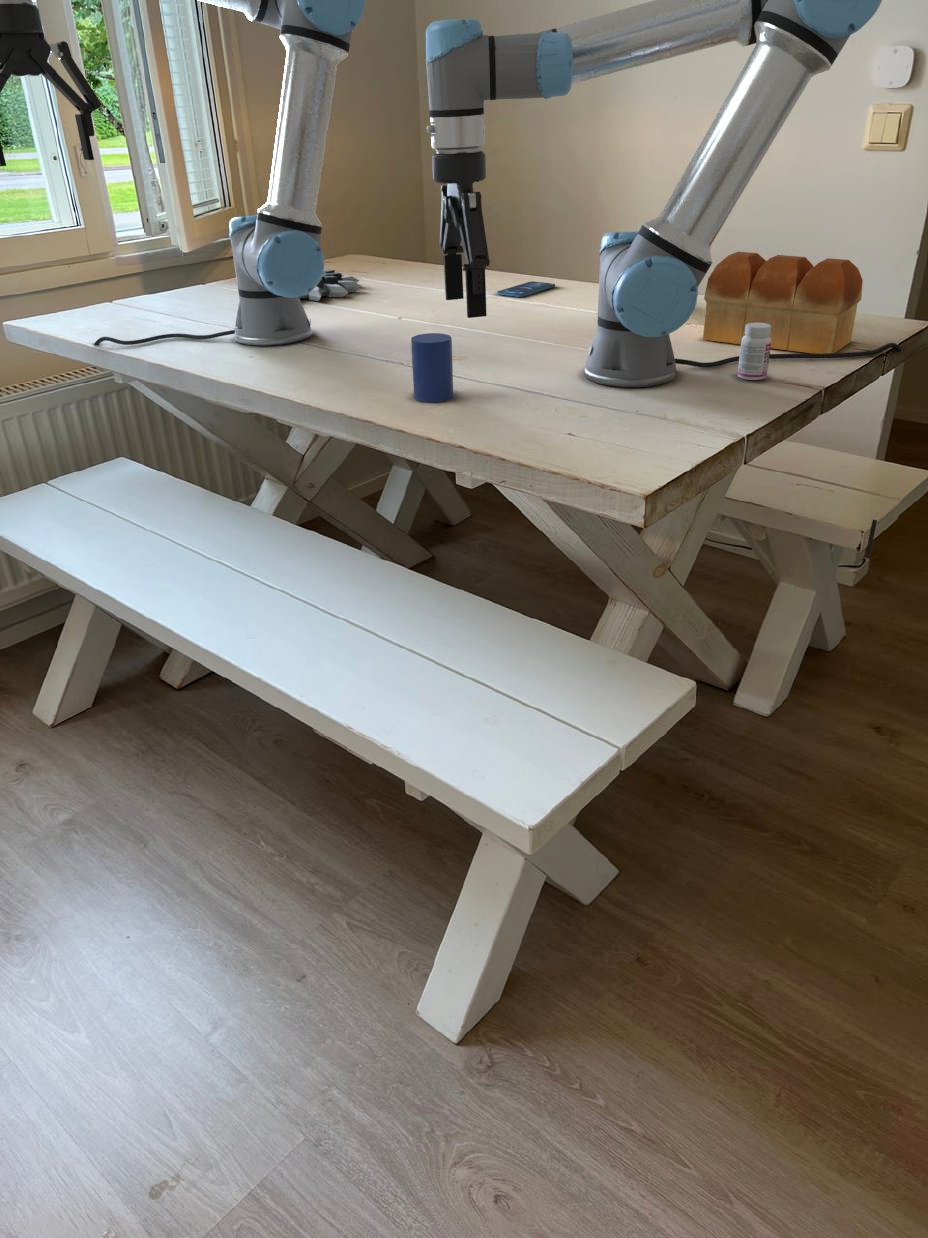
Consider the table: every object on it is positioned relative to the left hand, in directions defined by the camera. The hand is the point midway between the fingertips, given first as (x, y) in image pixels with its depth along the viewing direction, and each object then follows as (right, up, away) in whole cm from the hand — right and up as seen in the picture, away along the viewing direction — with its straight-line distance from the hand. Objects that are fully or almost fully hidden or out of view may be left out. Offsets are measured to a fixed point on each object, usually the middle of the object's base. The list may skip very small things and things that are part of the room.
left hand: (46, 162), depth 150 cm
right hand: (+67, -26, -8) cm, 72 cm away
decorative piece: (+27, +7, +81) cm, 86 cm away
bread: (+125, -20, +28) cm, 130 cm away
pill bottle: (+115, -32, +7) cm, 119 cm away
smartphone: (+81, +6, +75) cm, 111 cm away
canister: (+62, -37, +3) cm, 72 cm away
